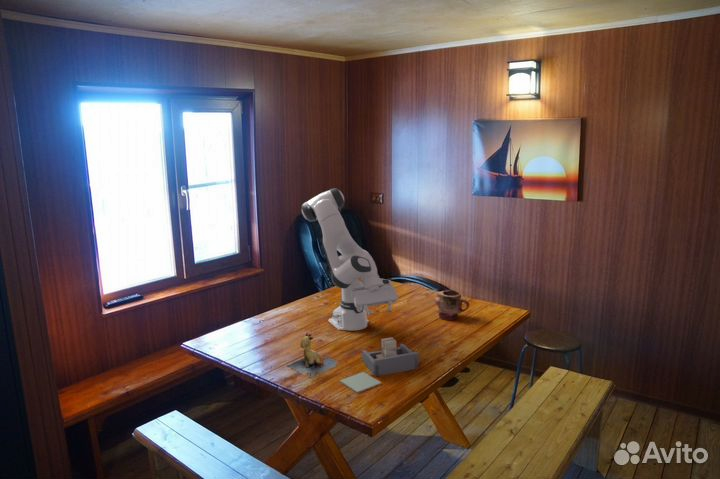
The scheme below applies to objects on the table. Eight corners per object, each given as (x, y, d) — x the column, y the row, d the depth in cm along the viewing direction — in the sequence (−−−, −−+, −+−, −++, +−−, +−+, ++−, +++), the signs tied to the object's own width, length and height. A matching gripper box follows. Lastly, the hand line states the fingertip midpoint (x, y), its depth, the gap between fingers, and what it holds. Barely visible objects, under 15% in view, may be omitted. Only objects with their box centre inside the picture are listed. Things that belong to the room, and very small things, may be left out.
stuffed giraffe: (286, 366, 230) (286, 331, 226) (317, 354, 242) (318, 321, 239) (310, 379, 219) (310, 343, 215) (341, 366, 231) (342, 332, 228)
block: (381, 356, 230) (381, 339, 229) (392, 354, 232) (392, 337, 230) (385, 360, 226) (385, 342, 225) (396, 358, 228) (396, 341, 226)
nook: (362, 361, 233) (362, 346, 232) (403, 353, 239) (403, 339, 238) (375, 376, 218) (375, 360, 217) (418, 368, 225) (418, 353, 223)
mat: (339, 381, 215) (339, 380, 215) (363, 373, 222) (363, 371, 221) (357, 393, 205) (357, 391, 205) (381, 383, 212) (381, 382, 212)
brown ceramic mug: (473, 317, 283) (473, 292, 280) (465, 324, 272) (466, 299, 269) (437, 311, 292) (438, 287, 289) (429, 318, 282) (429, 293, 279)
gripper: (351, 285, 238) (359, 313, 231) (394, 279, 244) (402, 306, 236) (349, 292, 243) (356, 319, 236) (391, 286, 249) (399, 312, 241)
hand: (380, 312), depth 236 cm, fingers open, 8 cm apart
